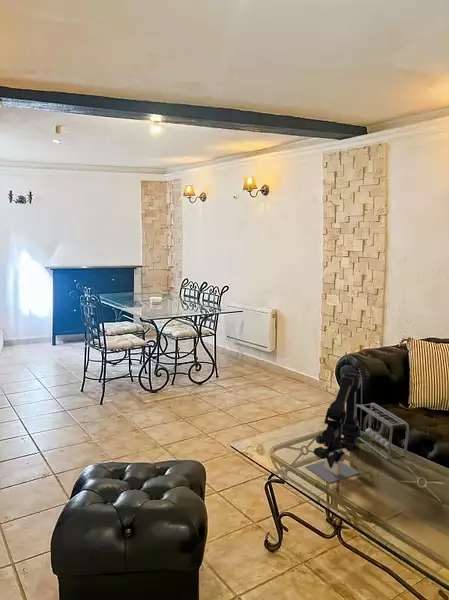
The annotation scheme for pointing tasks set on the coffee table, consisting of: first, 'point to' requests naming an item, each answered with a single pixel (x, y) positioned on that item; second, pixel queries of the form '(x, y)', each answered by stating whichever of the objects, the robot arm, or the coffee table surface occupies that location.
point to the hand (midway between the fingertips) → (332, 466)
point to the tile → (333, 467)
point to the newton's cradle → (378, 437)
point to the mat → (329, 476)
